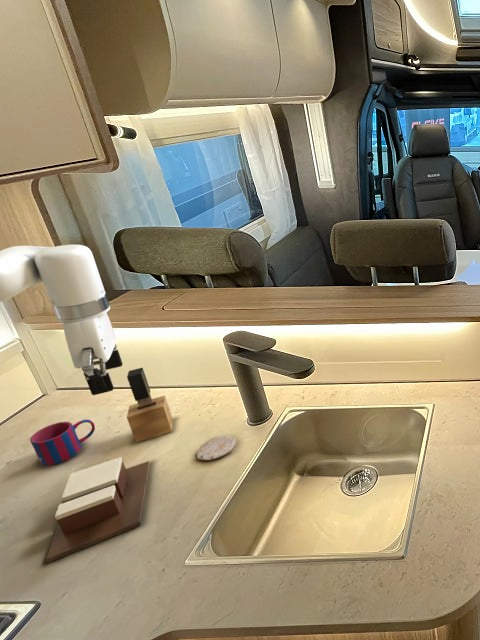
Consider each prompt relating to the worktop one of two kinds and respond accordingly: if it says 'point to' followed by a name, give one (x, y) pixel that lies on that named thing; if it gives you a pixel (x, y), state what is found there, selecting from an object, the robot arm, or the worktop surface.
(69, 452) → the mug
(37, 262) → the robot arm
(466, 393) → the worktop surface
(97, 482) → the cake
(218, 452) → the flatbread
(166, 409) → the knife block
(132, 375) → the knife
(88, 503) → the cake slice
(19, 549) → the worktop surface
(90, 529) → the cake board
